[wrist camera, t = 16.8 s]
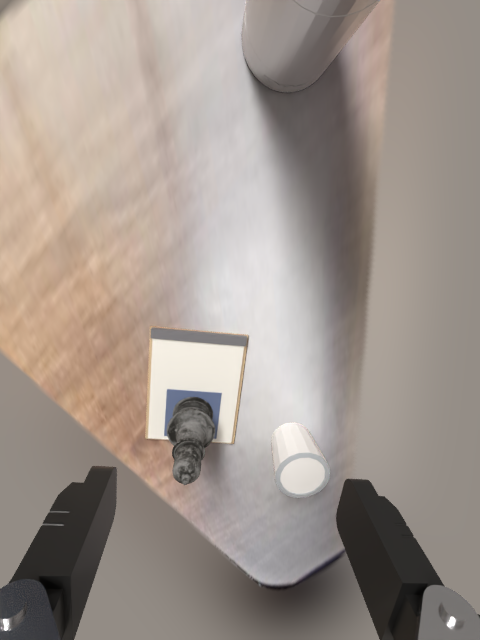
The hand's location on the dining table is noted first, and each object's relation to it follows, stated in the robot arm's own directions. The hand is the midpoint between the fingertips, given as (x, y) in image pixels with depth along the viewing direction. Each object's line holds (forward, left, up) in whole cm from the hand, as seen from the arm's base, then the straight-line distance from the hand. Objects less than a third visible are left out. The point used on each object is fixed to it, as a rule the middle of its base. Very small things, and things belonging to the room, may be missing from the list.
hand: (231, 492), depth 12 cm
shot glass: (+20, +12, -30) cm, 38 cm away
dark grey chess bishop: (+16, -2, -30) cm, 34 cm away
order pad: (+13, -2, -30) cm, 33 cm away
